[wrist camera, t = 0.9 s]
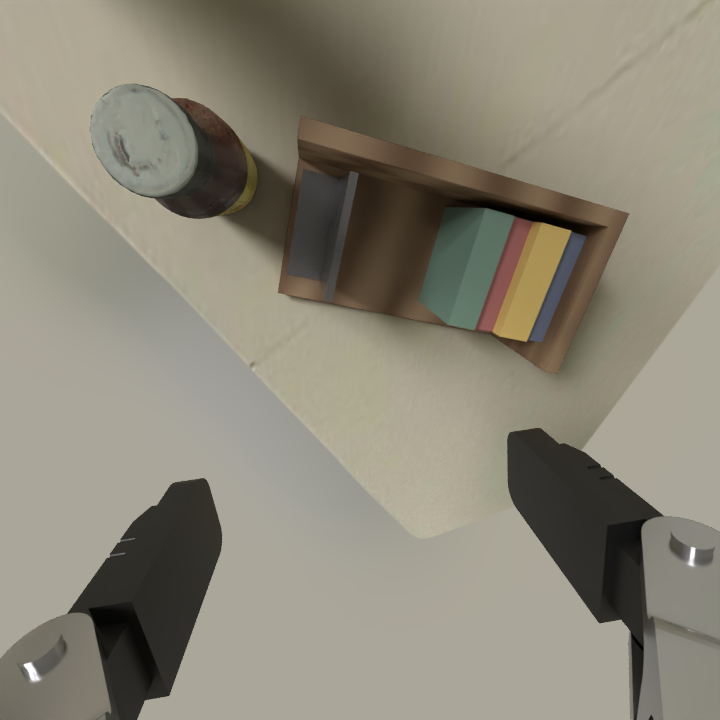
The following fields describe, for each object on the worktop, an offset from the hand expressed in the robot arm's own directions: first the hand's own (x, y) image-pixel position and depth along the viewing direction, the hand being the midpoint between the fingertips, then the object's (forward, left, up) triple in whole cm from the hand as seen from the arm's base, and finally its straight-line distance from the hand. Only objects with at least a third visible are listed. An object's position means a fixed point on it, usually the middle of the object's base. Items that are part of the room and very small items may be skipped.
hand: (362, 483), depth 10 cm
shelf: (+8, +5, -30) cm, 31 cm away
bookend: (-1, +5, -29) cm, 29 cm away
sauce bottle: (-10, +7, -30) cm, 33 cm away
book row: (+15, +5, -29) cm, 32 cm away
